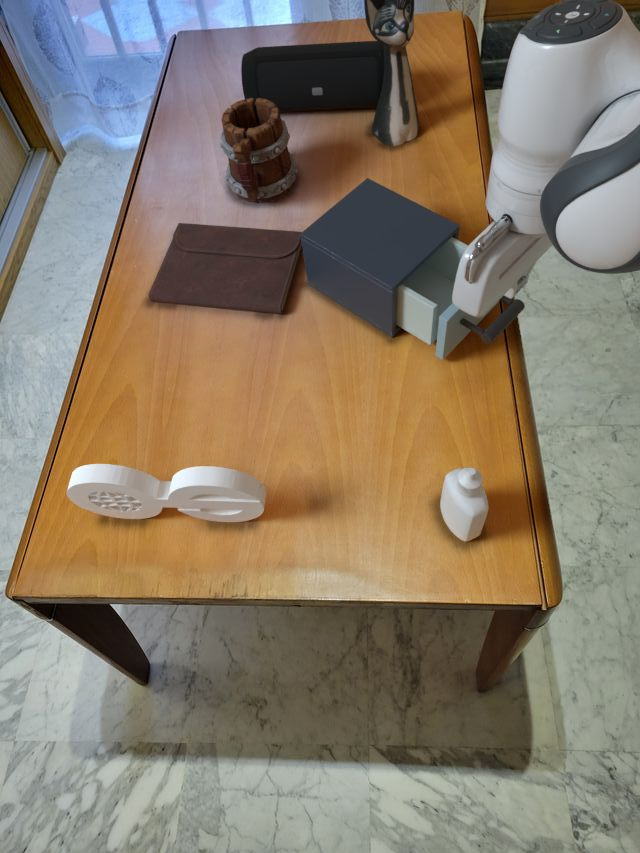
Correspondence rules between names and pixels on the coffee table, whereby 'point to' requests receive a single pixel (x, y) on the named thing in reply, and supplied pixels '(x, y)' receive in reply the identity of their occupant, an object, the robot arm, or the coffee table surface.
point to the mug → (257, 151)
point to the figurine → (394, 70)
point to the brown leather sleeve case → (228, 268)
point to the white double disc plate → (167, 493)
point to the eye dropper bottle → (464, 503)
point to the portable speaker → (315, 75)
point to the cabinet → (371, 250)
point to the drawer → (444, 304)
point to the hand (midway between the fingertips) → (512, 288)
